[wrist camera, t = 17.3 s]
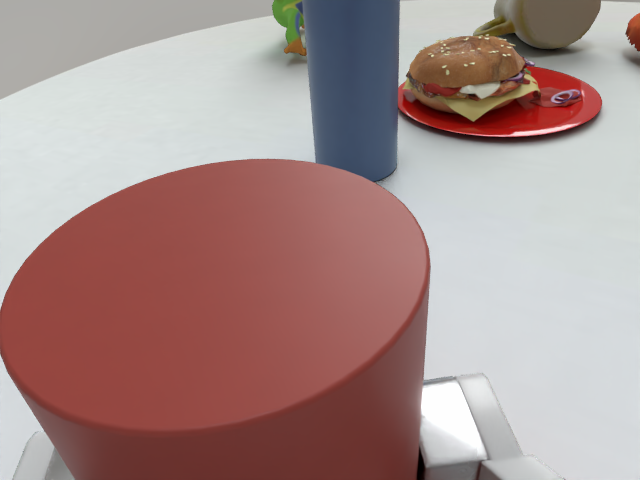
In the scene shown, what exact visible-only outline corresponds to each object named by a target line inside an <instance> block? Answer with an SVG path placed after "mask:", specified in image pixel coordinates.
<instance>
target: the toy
mask: <svg viewBox="0 0 640 480" xmlns="http://www.w3.org/2000/svg"><path fill="white" fill-rule="evenodd" d="M272 10H273V15H274V17H275V19H276V20H277V22H278V23H279V24H280V25H282V26H283V27H286V28H287V30H286V39H287V42H288V46H287V48H285V49H284V52H285V53H286V54H287V53H289V52H293V53H299V54H300V55H303V56H306V55H307V51H306V49H305V48H303V46H302V42H301V37H300V32H299V27H300V26H302V28H304V29H305V27H304V15H303V3H302V0H274V2H273V5H272Z"/></svg>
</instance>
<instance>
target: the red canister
mask: <svg viewBox="0 0 640 480" xmlns="http://www.w3.org/2000/svg"><path fill="white" fill-rule="evenodd" d="M430 268H431V266H430V256H429V248H428V245H427V242H426V239H425V236H424V233H423V231H422V229H421V227H420V226H419V224H418V222H417V220H416V219H415V217H414V216H413V214H412V213H411V212H410V211H409V210H408V208H407V207H406V206H405V205H404V204H403V203H402V202H401V201H400V200H399V199H397V198H396V197H395V196H394V195H393V194H392V193H390V192H389V191H387V190H386V189H384V188H382V187H381V186H379V185H378V184H376V183H374V182H372V181H370V180H368V179H366V178H364V177H362V176H359V175H356V174H354V173H351V172H349V171H346V170H342V169H339V168H335V167H331V166H328V165H323V164H317V163H312V162H305V161H296V160H284V159H247V160H234V161H225V162H218V163H211V164H205V165H200V166H195V167H190V168H186V169H182V170H178V171H174V172H170V173H167V174H164V175H161V176H157V177H154V178H151V179H148V180H146V181H143V182H140V183H138V184H135V185H132V186H130V187H128V188H125V189H123V190H121V191H119V192H117V193H114V194H112V195H110V196H108V197H106V198H104V199H103V200H101V201H99V202H97V203H95V204H93V205H91V206H90V207H88V208H87V209H85V210H83V211H82V212H80V213H79V214H77V215H76V216H74V217H72V218H71V219H70V220H68V221H67V222H66V223H64V224H63V225H62V226H60V227H59V228H58V229H56V230H55V231H54V232H53V233H52V234H51V235H50V236H49V237H47V238H46V239H45V240H44V241H43V242H42V243H41V244H40V245H39V246H38V247H37V248H36V249H35V250H34V251H33V252H32V254H31V255H30V256H29V257H28V258H27V259H26V260H25V262H24V263H23V265H22V266H21V267H20V269H19V270H18V272H17V273H16V275H15V276H14V278H13V280H12V282H11V284H10V286H9V288H8V290H7V292H6V294H5V297H4V300H3V303H2V306H1V310H0V354H1V357H2V359H3V362H4V364H5V367H6V369H7V372H8V374H9V375H10V377H11V379H12V380H13V382H14V383H15V385H16V387H17V388H18V390H19V391H20V393H21V394H22V396H23V398H24V399H25V401H26V402H27V404H28V406H29V407H30V409H31V410H32V412H33V414H34V415H35V417H36V418H37V420H38V421H39V423H40V425H41V426H42V428H43V429H44V431H45V433H46V434H47V436H48V437H49V439H50V440H51V442H52V444H53V445H54V447H55V448H56V450H57V452H58V453H59V455H60V456H61V458H62V460H63V461H64V463H65V464H66V466H67V467H68V469H69V471H70V472H71V474H72V475H73V477H74V479H75V480H417V470H418V455H419V439H420V424H421V408H422V392H423V377H424V361H425V346H426V330H427V315H428V299H429V284H430Z"/></svg>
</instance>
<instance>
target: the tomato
mask: <svg viewBox="0 0 640 480" xmlns="http://www.w3.org/2000/svg"><path fill="white" fill-rule="evenodd" d="M625 35H627V37H628V36H629V37H628V40H629V39H630V43H631V45H633V44H635V48H637V51H640V13H639V14H637V15H636V16H634V17H633V18H632V19H631V20H630V21H629V23H628V27H627V31H626V34H625Z"/></svg>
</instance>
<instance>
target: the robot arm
mask: <svg viewBox="0 0 640 480" xmlns="http://www.w3.org/2000/svg"><path fill="white" fill-rule="evenodd" d="M12 480H75V479H74V477H73V475H72V474H71V472H70V471H69V469H68V467H67V466H66V464H65V463H64V461H63V460H62V458H61V456H60V455H59V453H58V452H57V450H56V448H55V447H54V445H53V444H52V442H51V440H50V439H49V437H48V436H47V434H46V433H45V431H42V432H35V433H34V434H33V435H32V437H31V438H30V439H29V440H28V442H27V443H26V446H25V448H24V451H23V453H22V456H21V458H20V461H19V463H18V466H17V468H16V471H15V473H14V476H13V479H12ZM417 480H565V479H564V478H562V477H561V476H560V475H558V474H557V473H556V472H555V471H553V470H552V469H551V468H549V467H548V466H547V465H545V464H544V463H543V462H542V461H540V460H539V459H538V458H536V457H535V456H534V455H533V454H531V455H523V453H522V451H521V449H520V447H519V444H518V442H517V440H516V438H515V436H514V434H513V432H512V429H511V427H510V425H509V423H508V421H507V419H506V417H505V415H504V412H503V410H502V408H501V406H500V404H499V402H498V400H497V398H496V395H495V393H494V391H493V389H492V387H491V385H490V383H489V381H488V378H487V377H486V376H485V375H484V374H483V373H476V374H469V375H462V376H456V377H453V376H450V377H443V378H436V379H430V380H423V392H422V408H421V424H420V439H419V455H418V470H417Z"/></svg>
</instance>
